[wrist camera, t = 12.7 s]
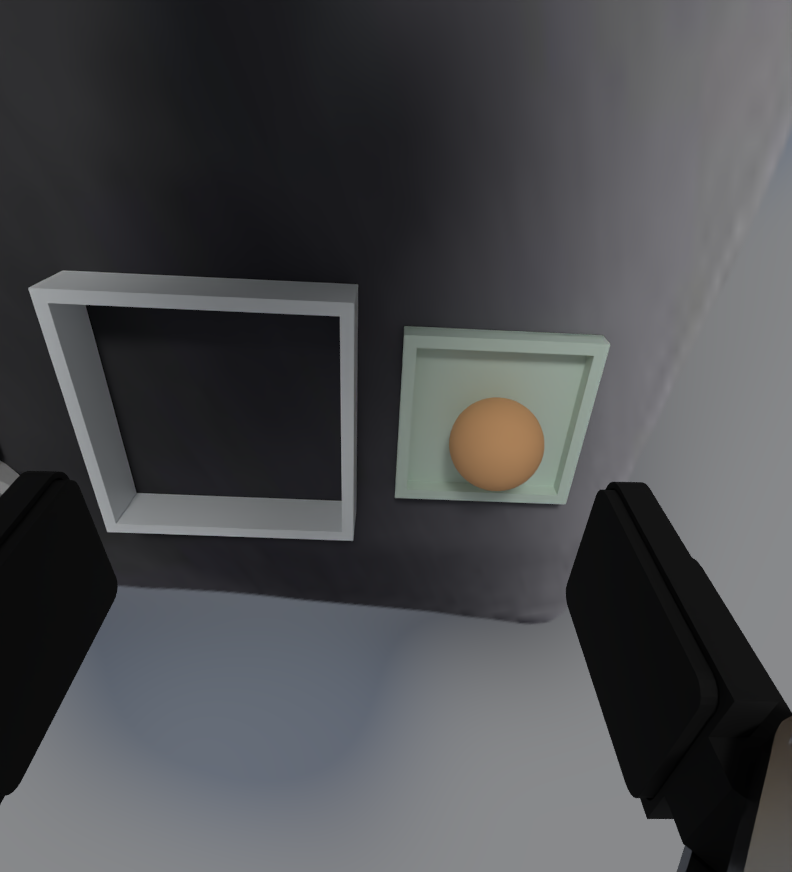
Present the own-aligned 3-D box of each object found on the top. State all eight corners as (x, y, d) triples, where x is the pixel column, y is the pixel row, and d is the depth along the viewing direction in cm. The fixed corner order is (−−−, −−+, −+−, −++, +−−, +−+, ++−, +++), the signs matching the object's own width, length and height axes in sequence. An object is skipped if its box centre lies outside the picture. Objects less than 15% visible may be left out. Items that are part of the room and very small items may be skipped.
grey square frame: (62, 270, 32) (28, 288, 29) (358, 284, 32) (354, 302, 29) (128, 500, 41) (107, 531, 38) (356, 509, 41) (353, 540, 38)
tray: (404, 326, 33) (404, 335, 32) (602, 334, 34) (610, 344, 32) (395, 485, 40) (394, 497, 39) (560, 491, 40) (565, 504, 39)
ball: (451, 378, 35) (457, 427, 30) (542, 383, 35) (564, 432, 30) (442, 453, 38) (447, 508, 33) (525, 457, 38) (543, 513, 33)
